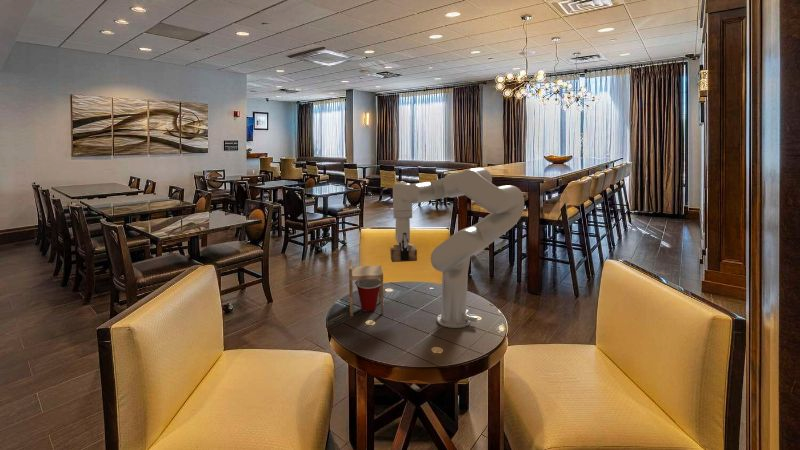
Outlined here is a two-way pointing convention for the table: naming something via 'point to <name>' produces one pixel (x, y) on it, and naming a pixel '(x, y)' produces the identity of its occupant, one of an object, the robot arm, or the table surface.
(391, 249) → the tray
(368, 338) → the table surface
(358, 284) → the plastic cup
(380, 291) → the tan flanged panel
